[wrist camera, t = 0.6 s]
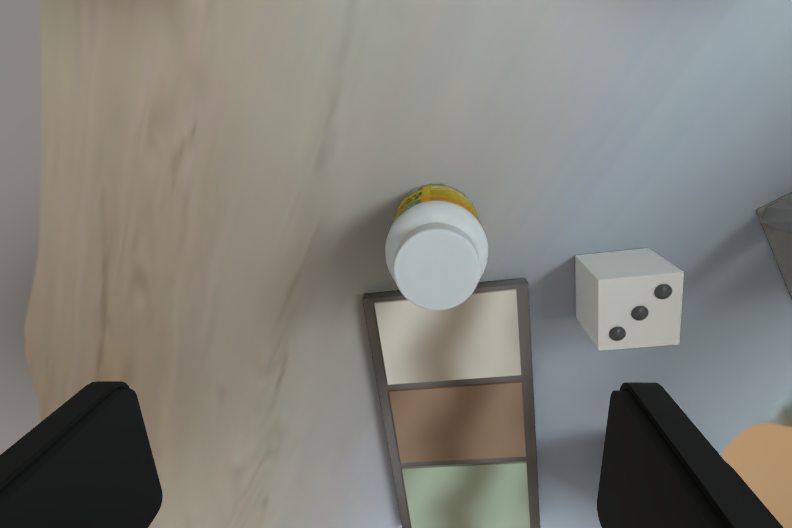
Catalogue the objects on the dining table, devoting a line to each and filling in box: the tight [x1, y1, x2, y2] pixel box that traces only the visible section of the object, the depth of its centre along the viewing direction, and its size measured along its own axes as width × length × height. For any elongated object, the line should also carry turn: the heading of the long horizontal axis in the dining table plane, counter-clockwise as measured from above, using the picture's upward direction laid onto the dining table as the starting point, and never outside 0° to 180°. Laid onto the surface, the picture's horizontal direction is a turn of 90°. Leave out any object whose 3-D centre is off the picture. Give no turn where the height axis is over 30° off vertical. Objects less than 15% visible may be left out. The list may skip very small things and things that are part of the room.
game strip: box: [362, 278, 540, 528], centre depth 34 cm, size 11×21×1 cm, turn 8°
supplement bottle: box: [385, 183, 488, 310], centre depth 25 cm, size 5×5×10 cm
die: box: [575, 248, 684, 351], centre depth 28 cm, size 4×4×5 cm
